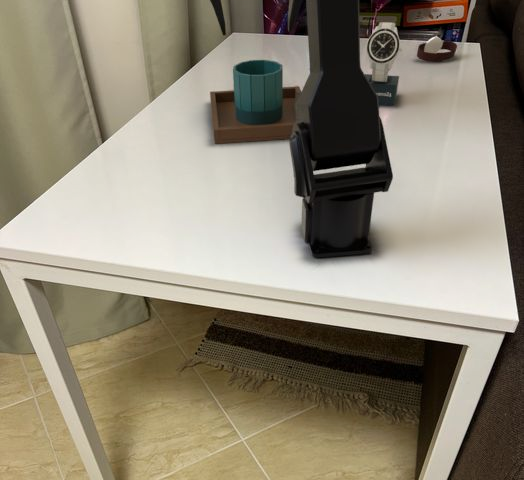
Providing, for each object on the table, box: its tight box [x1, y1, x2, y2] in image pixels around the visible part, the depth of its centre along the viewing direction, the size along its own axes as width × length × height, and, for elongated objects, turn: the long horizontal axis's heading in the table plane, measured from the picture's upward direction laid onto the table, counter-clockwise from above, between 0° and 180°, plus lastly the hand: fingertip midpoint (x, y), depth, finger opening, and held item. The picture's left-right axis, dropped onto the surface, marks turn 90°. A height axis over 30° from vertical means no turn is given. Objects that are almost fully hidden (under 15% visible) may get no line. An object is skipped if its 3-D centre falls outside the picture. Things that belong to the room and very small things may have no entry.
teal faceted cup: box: [232, 59, 284, 125], centre depth 82 cm, size 7×7×7 cm
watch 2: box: [416, 35, 458, 63], centre depth 103 cm, size 8×5×4 cm, turn 105°
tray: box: [209, 85, 302, 145], centre depth 84 cm, size 15×16×2 cm
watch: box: [364, 21, 404, 107], centre depth 86 cm, size 6×8×11 cm
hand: (257, 32), depth 77 cm, fingers open, 9 cm apart
